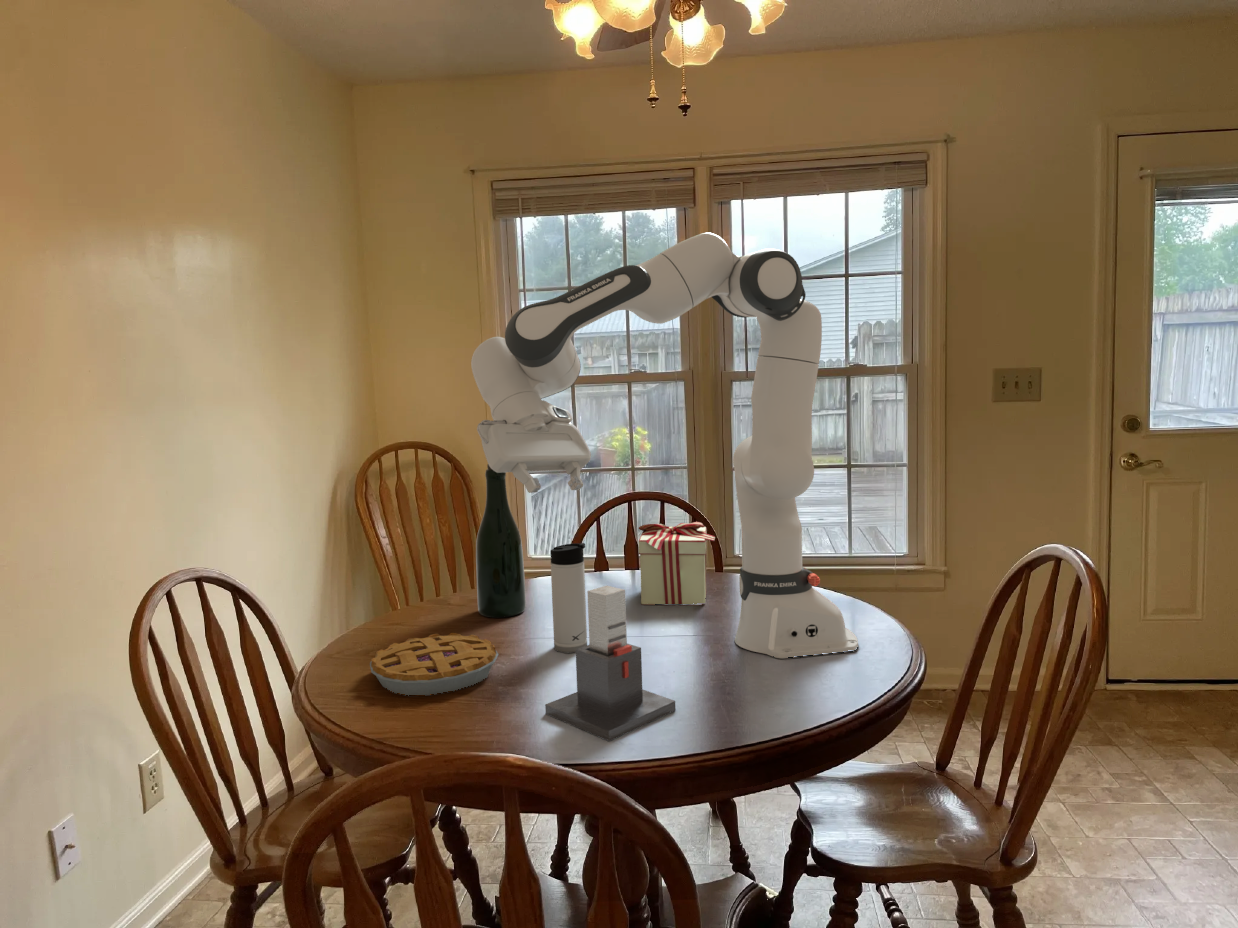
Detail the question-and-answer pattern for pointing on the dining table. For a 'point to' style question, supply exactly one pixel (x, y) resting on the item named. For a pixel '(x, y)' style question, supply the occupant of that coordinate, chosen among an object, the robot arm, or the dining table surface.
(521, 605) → the green wine bottle
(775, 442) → the robot arm
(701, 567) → the gift box
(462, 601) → the dining table surface
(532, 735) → the dining table surface
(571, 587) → the travel mug
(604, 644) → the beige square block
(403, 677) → the pie
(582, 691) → the grey square socket stand
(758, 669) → the dining table surface
